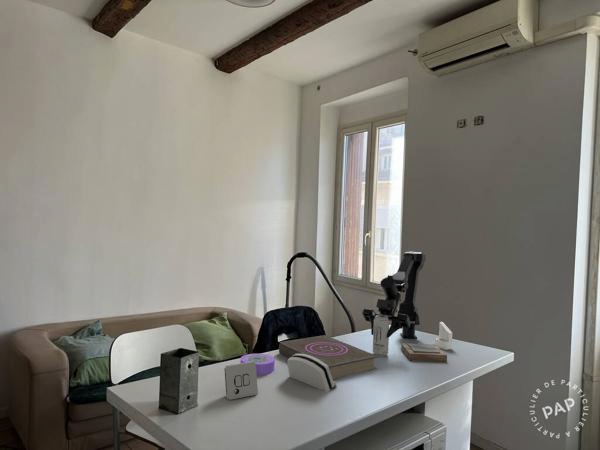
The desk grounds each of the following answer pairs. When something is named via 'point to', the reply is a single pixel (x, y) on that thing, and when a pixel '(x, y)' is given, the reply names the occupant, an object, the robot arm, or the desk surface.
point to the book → (331, 354)
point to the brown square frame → (423, 352)
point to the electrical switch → (241, 380)
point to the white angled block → (444, 337)
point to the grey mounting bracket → (310, 371)
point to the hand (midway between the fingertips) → (379, 335)
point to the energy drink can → (380, 335)
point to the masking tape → (260, 362)
